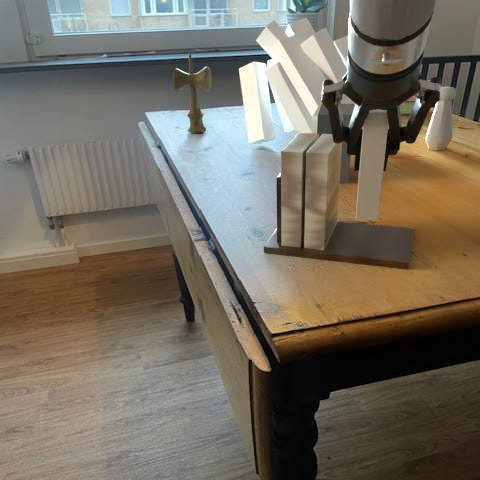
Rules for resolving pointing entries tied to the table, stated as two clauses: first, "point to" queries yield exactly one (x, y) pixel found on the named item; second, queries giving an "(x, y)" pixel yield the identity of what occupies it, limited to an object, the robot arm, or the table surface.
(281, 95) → the pile of blocks
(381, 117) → the white book
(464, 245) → the table surface
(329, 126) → the grey books
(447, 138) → the salt shaker
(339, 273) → the table surface
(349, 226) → the book board
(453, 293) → the table surface
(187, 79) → the kendama
